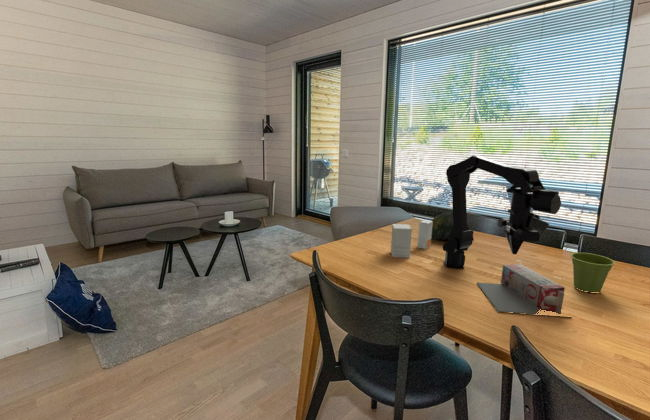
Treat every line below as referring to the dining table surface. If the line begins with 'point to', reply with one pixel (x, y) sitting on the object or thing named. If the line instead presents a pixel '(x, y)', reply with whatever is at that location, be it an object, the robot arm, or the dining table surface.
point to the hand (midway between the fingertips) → (514, 253)
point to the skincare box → (424, 234)
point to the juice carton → (533, 287)
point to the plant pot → (590, 271)
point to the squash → (442, 226)
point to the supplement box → (401, 240)
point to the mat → (507, 299)
